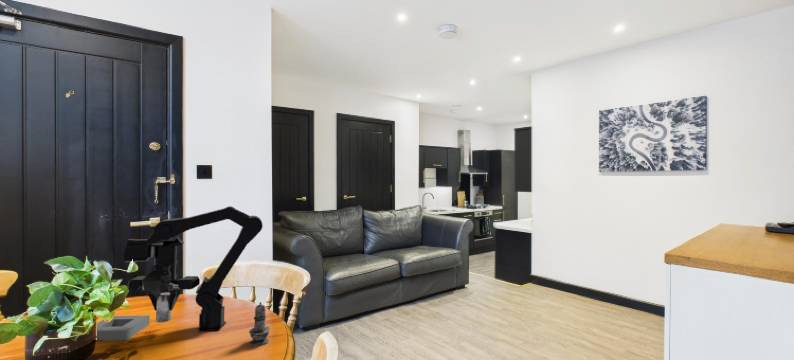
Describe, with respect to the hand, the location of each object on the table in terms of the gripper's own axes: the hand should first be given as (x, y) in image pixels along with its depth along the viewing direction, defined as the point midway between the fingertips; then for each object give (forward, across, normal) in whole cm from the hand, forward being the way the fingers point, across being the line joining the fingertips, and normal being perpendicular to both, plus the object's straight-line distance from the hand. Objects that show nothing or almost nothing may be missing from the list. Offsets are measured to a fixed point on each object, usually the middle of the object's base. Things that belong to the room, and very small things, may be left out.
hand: (163, 310), depth 114 cm
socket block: (+7, -14, +1) cm, 16 cm away
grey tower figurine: (+7, +31, -8) cm, 33 cm away
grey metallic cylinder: (+3, 0, 0) cm, 3 cm away
